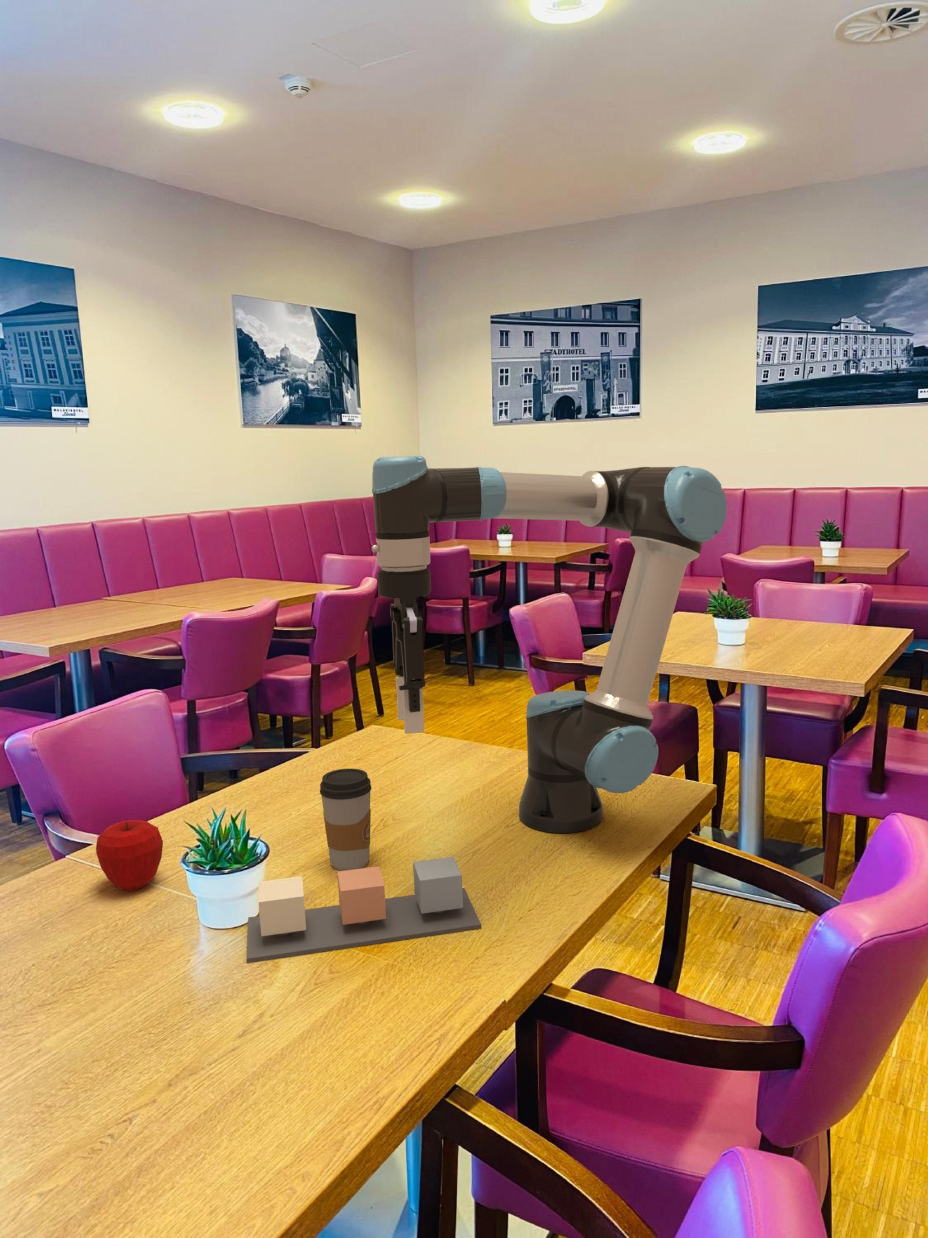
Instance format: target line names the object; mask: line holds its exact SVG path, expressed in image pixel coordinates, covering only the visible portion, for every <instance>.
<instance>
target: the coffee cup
mask: <svg viewBox="0 0 928 1238" xmlns="http://www.w3.org/2000/svg"><path fill="white" fill-rule="evenodd" d="M319 788H320V789H319V794H320V796H321V802H322V808H323V811H322V812H323V813H322V814H323V820H324V828H325V829H324V830H325V835H326V842H327V848H328V854H329V862H330V864H331V866H332V867H333V869H335V870H337V871H346V870H354V869H362V868H366V866H367V865H368V863H369V861H370V854H371V853H370V846H371V812H372V811H371V792H372V784H371V779H370V778H369V775H368V773H367V771H365V770H363V769H359V768H340V769H334V770H331V771H329V772H327V773H325V774H323V775H322V778H321V782H320V783H319Z"/></svg>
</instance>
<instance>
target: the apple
mask: <svg viewBox="0 0 928 1238" xmlns="http://www.w3.org/2000/svg"><path fill="white" fill-rule="evenodd" d="M95 845H96V846H95V853H96V856H97V860H98V863H99V866H100V868H101V871H102V872H103V874H104V875H105V877H106V878H107V881H108V882H109V883H110V884H111V885H113V886H114V887H116V888H118V889H119V890H123V891H125V892H133V891H138V890H141V889H142V888H143V887H144V886H145V885H146V886H147V884H148V883H150V881H152V880H153V879H154V878H155V877H156V875H157V873H158V869H159V866H160V864H161V860H162V857H163V856H162V855H163V847H164V840H163V837H162V835H161V833H160V830H159V827H158V826H155V825H154V824H152V823H150V822H148V821H147V820H140V819H139V820H138V819H137V820H136V819H135V820H134V819H132V820H131V819H130V820H122V821H119V822H116V823H114V824H111V825H109V826H107V827H106V828H105V829H104V831H102V832H101V833H100V834H99V835H98V836H97V839H96V844H95Z"/></svg>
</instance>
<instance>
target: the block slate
mask: <svg viewBox="0 0 928 1238" xmlns="http://www.w3.org/2000/svg"><path fill="white" fill-rule="evenodd" d="M412 864H413V865H412V869H413V870H412V871H413V890H414V891H413V892H414V895H415V896H416V899H417V902H418V905H419V908H420V911H421V914H423V913H430V912H437V911H444V910H451V909H458V908H463V890H462V888H463V874H462V872H461V870H460V868H459V865H458V863H457V861H456V860H455V857H454V856H448V857H440V858H433V859H424V860H417V861H413V862H412Z"/></svg>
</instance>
